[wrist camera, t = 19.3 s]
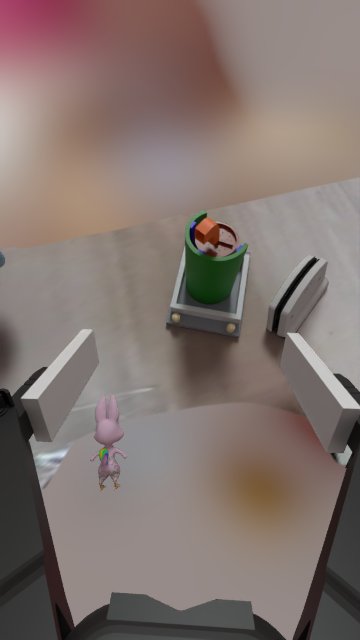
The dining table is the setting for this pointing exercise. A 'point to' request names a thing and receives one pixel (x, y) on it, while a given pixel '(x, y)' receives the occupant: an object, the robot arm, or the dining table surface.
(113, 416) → the rabbit figure
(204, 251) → the motor
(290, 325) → the grey arched block
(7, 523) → the robot arm
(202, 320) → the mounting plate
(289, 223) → the dining table surface
